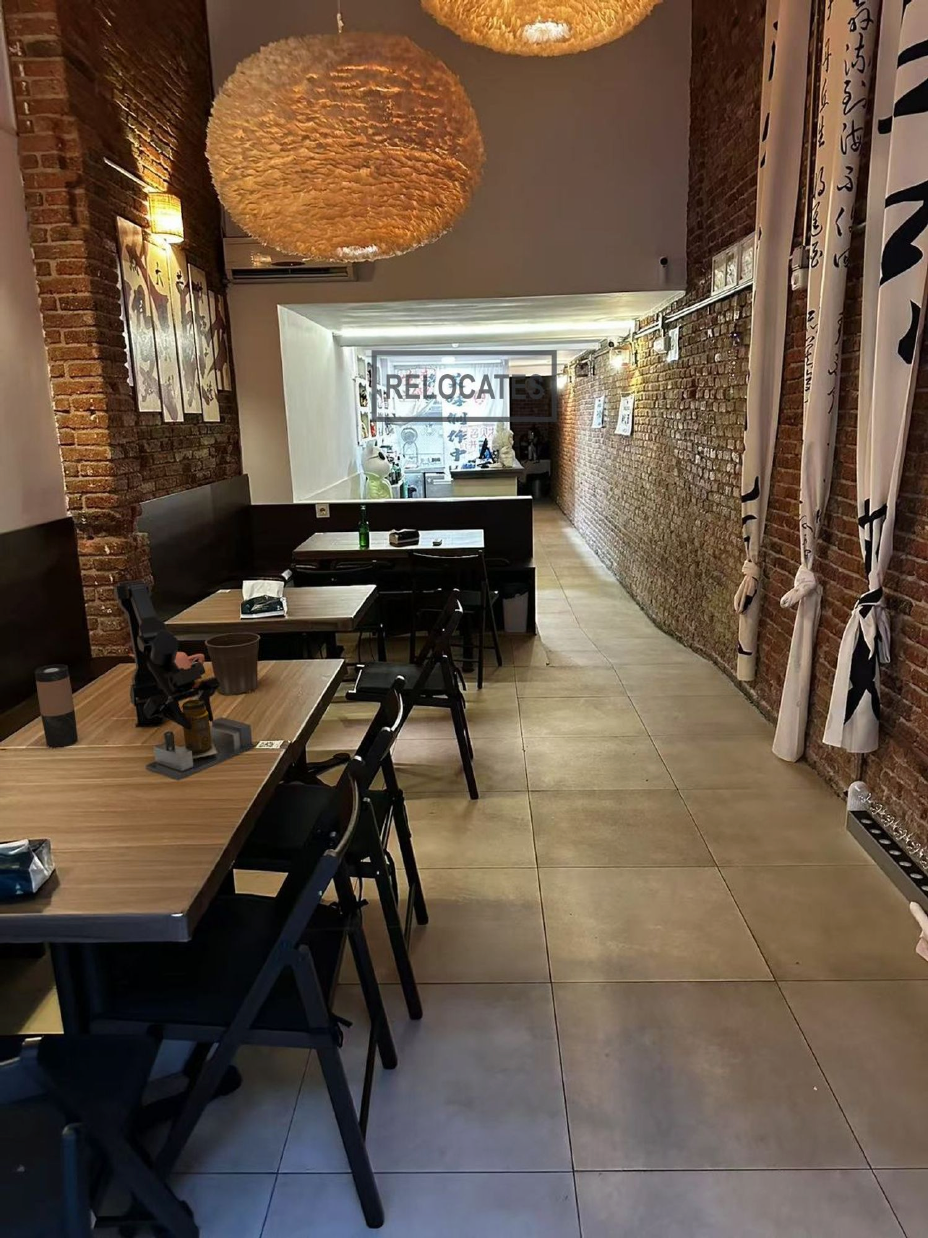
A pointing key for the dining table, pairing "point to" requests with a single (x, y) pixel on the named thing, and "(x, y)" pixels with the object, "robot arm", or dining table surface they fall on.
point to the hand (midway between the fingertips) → (201, 724)
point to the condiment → (197, 729)
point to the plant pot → (234, 661)
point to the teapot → (185, 660)
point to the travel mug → (56, 705)
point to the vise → (227, 743)
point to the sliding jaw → (173, 754)
